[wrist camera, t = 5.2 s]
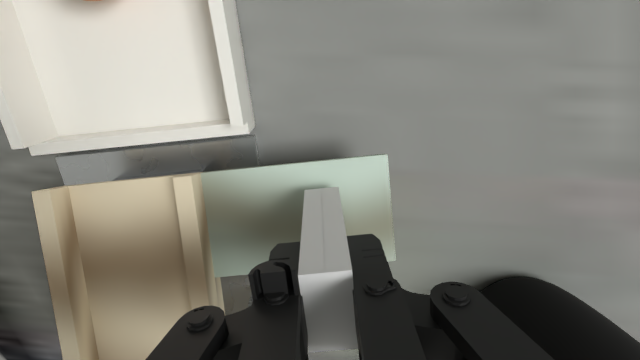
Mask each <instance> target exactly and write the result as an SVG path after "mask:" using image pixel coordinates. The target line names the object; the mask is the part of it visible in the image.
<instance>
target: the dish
mask: <svg viewBox="0 0 640 360" xmlns="http://www.w3.org/2000/svg"><path fill="white" fill-rule="evenodd" d="M0 120H1V123H2V125H3V128H4V130H5V133H6V135H7V138H8V141H9V143H10V146H11V148H12V149H22V148H26V147H28V148H29V150H30V153H31V156H35V155H45V154H55V153H64V152H74V151H84V150H94V149H104V148H113V147H123V146H133V145H143V144H153V143H162V142H172V141H182V140H192V139H202V138H211V137H221V136H231V135H241V134H249V133H250V132H251V131H252V130H253V128H254V127H255V120H254V113H253V107H252V101H251V95H250V88H249V82H248V76H247V70H246V64H245V57H244V51H243V45H242V39H241V32H240V26H239V20H238V14H237V7H236V1H235V0H101V1H85V0H0Z"/></svg>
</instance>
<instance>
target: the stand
mask: <svg viewBox="0 0 640 360" xmlns="http://www.w3.org/2000/svg"><path fill="white" fill-rule="evenodd" d="M55 159H56V162H57V165H58V168H59V170H60V173H61V176H62V179H63V182H64V185H65V186H66V185H76V184H86V183H96V182H106V181H116V180H126V179H136V178H146V177H157V176H167V175H177V174H187V173H197V172H207V171H217V170H227V169H237V168H247V167H257V166H260V162H259V156H258V149H257V143H256V137H255V135H249V136H239V137H229V138H219V139H210V140H200V141H190V142H180V143H170V144H160V145H151V146H141V147H131V148H121V149H111V150H102V151H92V152H82V153H72V154H62V155H60V156H57V157H55ZM220 279H221V287H222V294H223V301H224V309H225V316H226V315H230V314H233V313H236V312H239V311H241V310H244V309H246V308H248V307H249V306H251V305H252V301H253V298H252V293H251V287H250V282H249V277H248V275H237V276H226V277H220ZM62 360H63V359H62Z"/></svg>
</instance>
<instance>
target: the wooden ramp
mask: <svg viewBox="0 0 640 360" xmlns="http://www.w3.org/2000/svg"><path fill="white" fill-rule="evenodd" d="M329 187H339V193H340V199H341V205H342V211H343V217H344V224H345V230H346V236H352V235H362V234H373V235H375V236H376V237H377V238H378V239H380V241H381V244H382V247H383V250H384V253H385V256H386V259H387V262H388V261H396V255H395V243H394V230H393V218H392V205H391V193H390V180H389V168H388V155H387V154H377V155H367V156H357V157H347V158H337V159H327V160H317V161H307V162H297V163H287V164H277V165H267V166H257V167H247V168H237V169H227V170H217V171H207V172H197V173H187V174H177V175H167V176H157V177H146V178H136V179H126V180H116V181H106V182H96V183H86V184H76V185H66V186H60V187H54V188H49V189H43V190H38V191H32V192H31V193H32V198H33V203H34V209H35V214H36V219H37V224H38V230H39V235H40V240H41V246H42V251H43V256H44V262H45V267H46V272H47V277H48V283H49V288H50V293H51V299H52V304H53V309H54V314H55V320H56V325H57V330H58V336H59V341H60V346H61V351H62V357H63V360H145V359H146V358H147V357H148V356H149V355H150V353H151V352H152V351H153V350H154V349H155V347H156V346H157V345H158V344H159V343H160V341H161V340H162V339H163V338H164V336H165V335H166V334H167V333H168V332H169V330H170V329H171V328H172V327H173V326H174V324H175V323H176V322H177V321H178V320H179V319H180V318H181V317H182V316H183V315H184V314H185V313H187V312H189V311H191V310H193V309H195V308H198V307H202V306H211V305H212V306H216V307H220V308H221V309H222V310H223V311H224V314H225V309H224V301H223V294H222V287H221V279H220V277H226V276H237V275H248V274H249V272H250V271H251V269H253V268H254V267H255V266H257V265H258V264H261V263H263V262H265V261H269V256H270V251H271V250H272V249H273V248H274V247H275V246H276V245H277V244H279V243H289V242H300V241H301V230H302V217H303V204H304V191H305V190H309V189H319V188H329Z"/></svg>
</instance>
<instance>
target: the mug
mask: <svg viewBox="0 0 640 360" xmlns="http://www.w3.org/2000/svg"><path fill="white" fill-rule="evenodd" d="M480 293H481V294H482V295H483V296H484V297H486V298H487V299H488V300H489V301H490V302H491V303H492V304H493V305H494V306H496V307H497V308H498V309H499V310H500V311H501V312H502V313H503V314H504V315H505V316H507V317H508V318H509V319H510V320H511V321H512V322H513V323H514V324H515V325H517V326H518V327H519V328H520V329H521V330H522V331H523V332H524V333H525V334H527V335H528V336H529V337H530V338H531V339H532V340H533V341H534V342H535V343H536V344H538V345H539V346H540V347H541V348H542V349H543V350H544V351H545V352H546V353H548V354H549V355H550V356H551V357H552V358H553V359H554V360H640V343H639V342H638V341H636V340H635V339H634V338H632V337H631V336H630V335H629V334H627V333H626V332H625V331H623V330H622V329H621V328H619V327H618V326H617V325H616V324H614V323H613V322H612V321H610V320H609V319H607V318H606V317H605V316H603V315H602V314H600V313H599V312H598V311H596V310H595V309H593V308H592V307H590V306H589V305H587V304H586V303H584V302H583V301H581V300H580V299H578V298H577V297H575V296H574V295H572V294H570V293H569V292H567V291H565V290H563V289H561V288H560V287H558V286H556V285H553V284H551V283H548V282H546V281H543V280H539V279H535V278H529V277H514V278H508V279H504V280H501V281H498V282H496V283H494V284H492V285H490V286H488V287H487V288H485V289H484V290H483V291H481V292H480Z"/></svg>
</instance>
